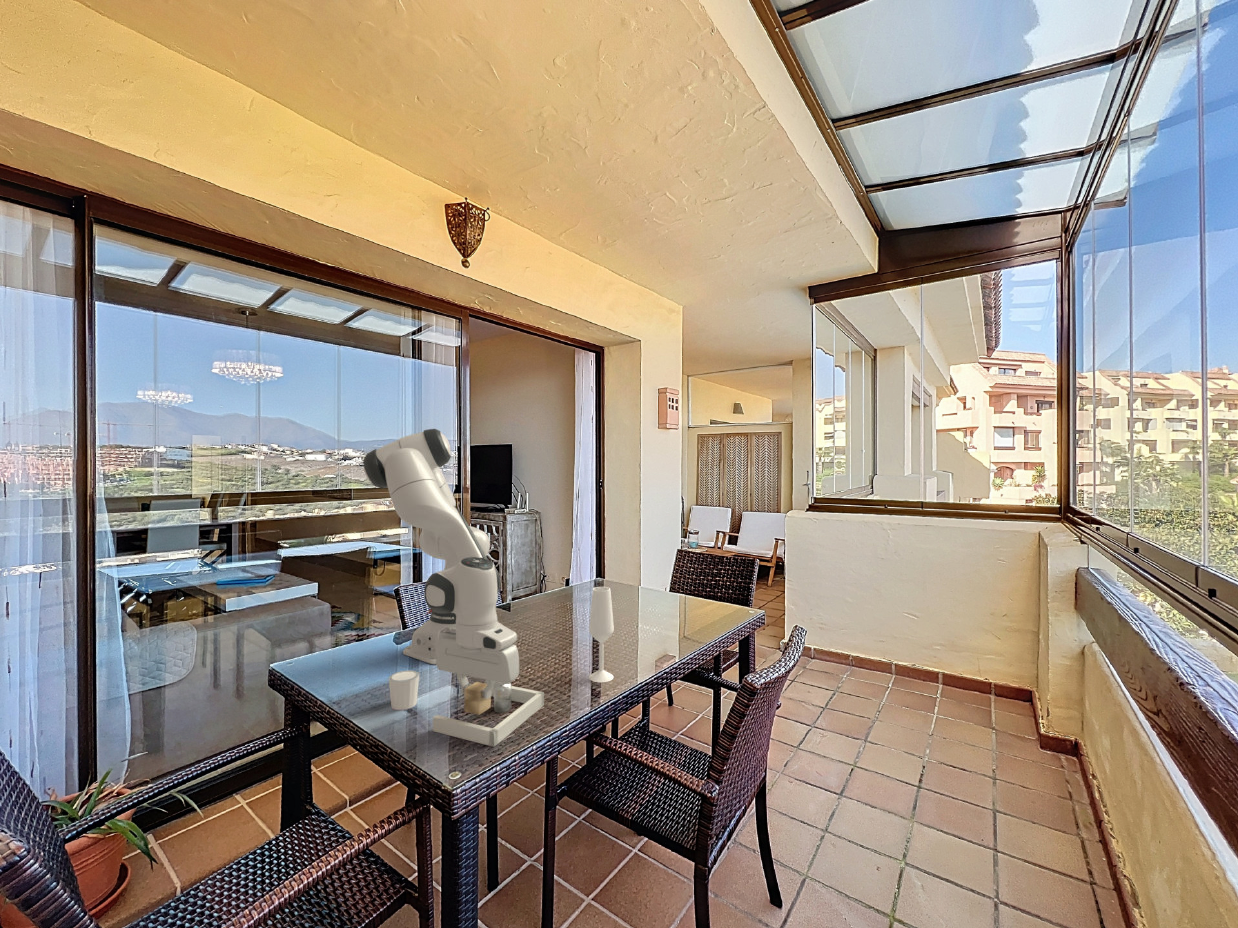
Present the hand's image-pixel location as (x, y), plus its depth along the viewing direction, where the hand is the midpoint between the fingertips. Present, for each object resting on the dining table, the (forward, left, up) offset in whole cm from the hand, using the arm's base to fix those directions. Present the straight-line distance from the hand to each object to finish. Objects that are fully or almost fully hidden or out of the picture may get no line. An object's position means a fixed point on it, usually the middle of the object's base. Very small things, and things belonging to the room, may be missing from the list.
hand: (476, 695), depth 117 cm
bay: (0, +5, -7) cm, 9 cm away
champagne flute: (+14, +35, -7) cm, 39 cm away
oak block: (0, +1, -3) cm, 3 cm away
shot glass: (-23, +2, -7) cm, 24 cm away
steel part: (0, +10, -7) cm, 12 cm away
